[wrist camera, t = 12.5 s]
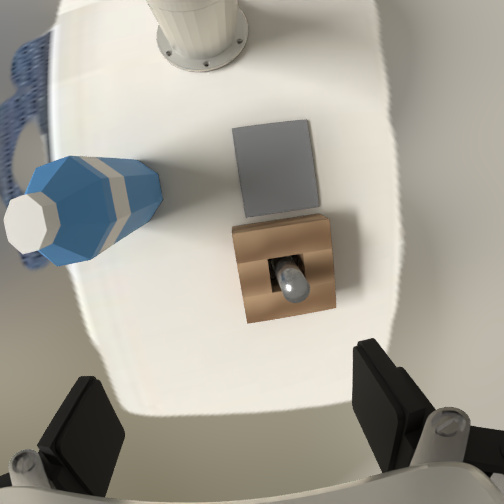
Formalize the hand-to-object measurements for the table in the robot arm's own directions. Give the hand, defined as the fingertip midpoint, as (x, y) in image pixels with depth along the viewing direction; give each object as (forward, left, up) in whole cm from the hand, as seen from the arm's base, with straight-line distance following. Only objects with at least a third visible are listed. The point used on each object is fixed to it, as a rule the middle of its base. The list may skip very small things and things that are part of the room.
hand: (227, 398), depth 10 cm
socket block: (+6, +6, -34) cm, 35 cm away
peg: (+6, +6, -34) cm, 35 cm away
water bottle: (-7, -13, -34) cm, 38 cm away
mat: (-7, +7, -34) cm, 36 cm away
